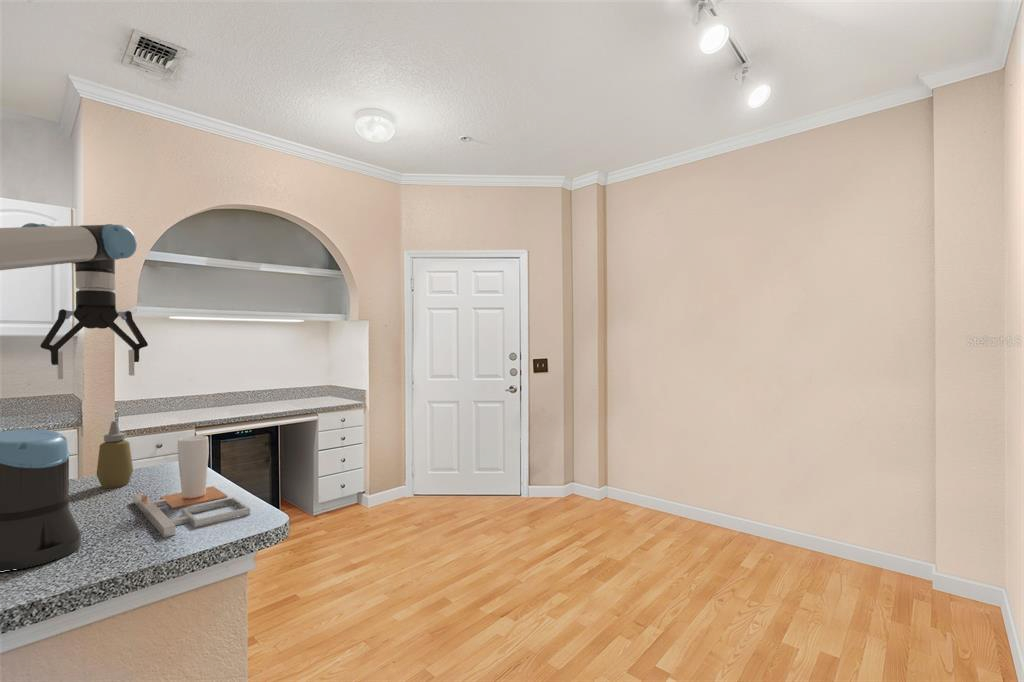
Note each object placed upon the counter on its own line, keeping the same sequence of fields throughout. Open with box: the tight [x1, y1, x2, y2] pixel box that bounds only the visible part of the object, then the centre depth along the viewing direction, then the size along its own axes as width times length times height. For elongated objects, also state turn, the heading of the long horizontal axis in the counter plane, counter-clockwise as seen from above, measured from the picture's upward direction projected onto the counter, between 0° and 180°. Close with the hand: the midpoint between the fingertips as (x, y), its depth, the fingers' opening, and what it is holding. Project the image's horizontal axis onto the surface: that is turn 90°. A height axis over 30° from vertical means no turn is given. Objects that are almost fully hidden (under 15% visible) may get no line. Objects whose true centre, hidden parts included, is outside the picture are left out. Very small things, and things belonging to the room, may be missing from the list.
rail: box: [133, 486, 251, 538], centre depth 121 cm, size 32×18×3 cm, turn 46°
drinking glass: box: [177, 435, 210, 499], centre depth 129 cm, size 7×7×15 cm
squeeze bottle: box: [96, 420, 134, 489], centre depth 141 cm, size 8×8×18 cm
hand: (97, 377), depth 124 cm, fingers open, 13 cm apart
